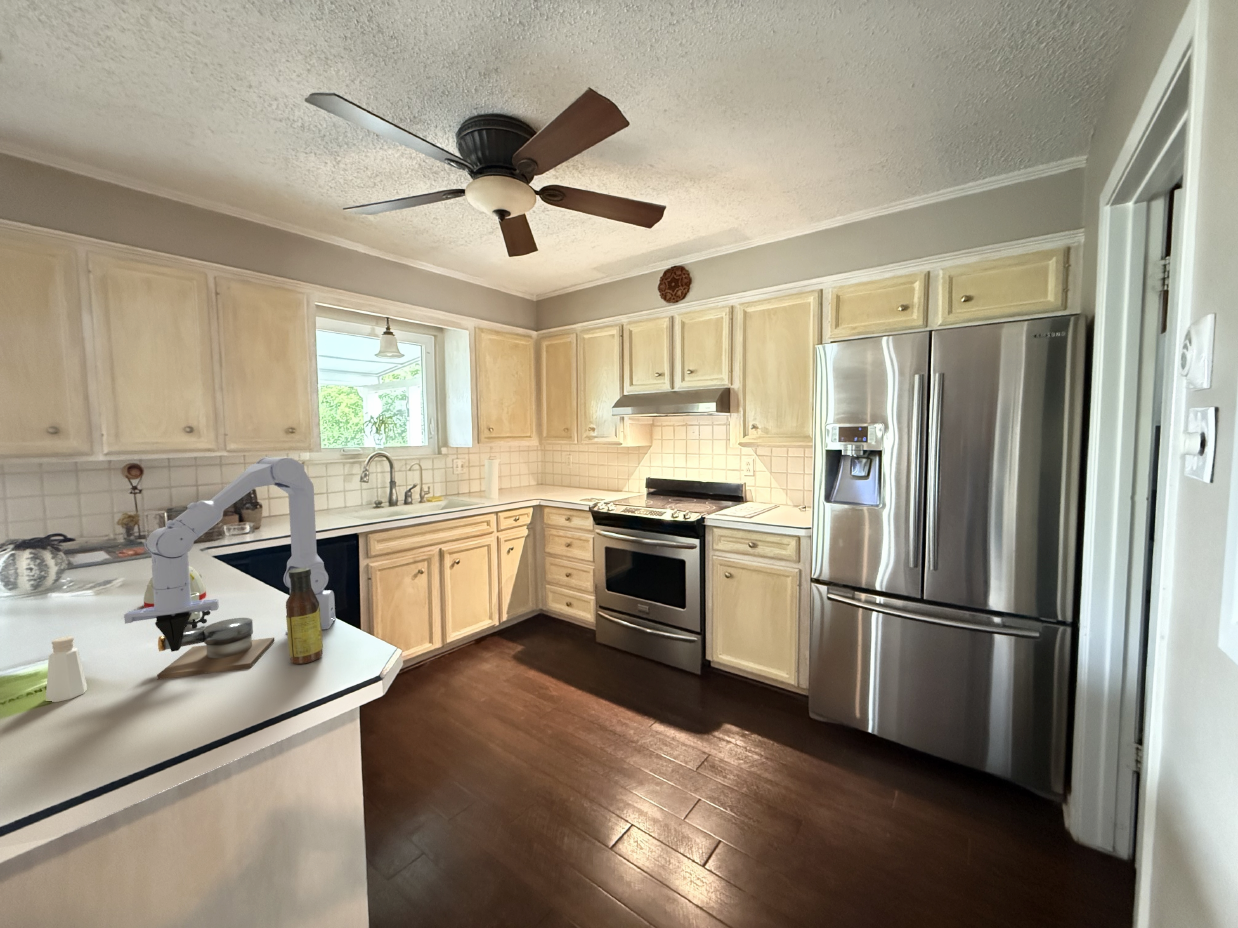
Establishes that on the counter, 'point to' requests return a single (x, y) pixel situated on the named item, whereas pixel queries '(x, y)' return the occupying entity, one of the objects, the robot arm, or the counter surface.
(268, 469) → the robot arm
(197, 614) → the valve
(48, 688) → the pepper shaker
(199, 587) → the white and red dome
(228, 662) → the thin wooden panel
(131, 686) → the counter surface
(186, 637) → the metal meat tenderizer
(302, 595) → the sauce bottle
